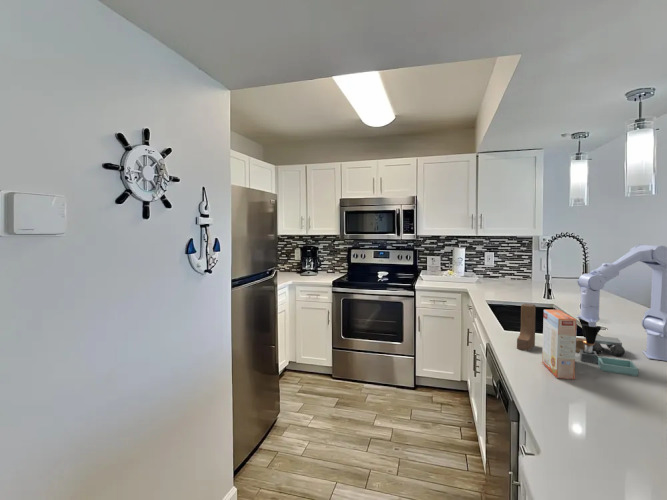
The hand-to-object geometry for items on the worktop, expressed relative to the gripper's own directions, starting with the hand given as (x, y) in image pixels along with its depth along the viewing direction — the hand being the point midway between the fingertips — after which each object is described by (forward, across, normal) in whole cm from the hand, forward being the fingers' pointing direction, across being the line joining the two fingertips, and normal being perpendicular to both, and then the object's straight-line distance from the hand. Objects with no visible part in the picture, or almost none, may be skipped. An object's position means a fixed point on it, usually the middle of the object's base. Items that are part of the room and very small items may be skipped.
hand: (588, 340), depth 133 cm
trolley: (+8, -14, +7) cm, 17 cm away
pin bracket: (+8, 0, 0) cm, 8 cm away
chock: (+8, -10, -1) cm, 12 cm away
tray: (+8, +6, +8) cm, 12 cm away
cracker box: (+8, +16, -11) cm, 21 cm away
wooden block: (+8, -6, -21) cm, 23 cm away
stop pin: (+8, 0, 0) cm, 8 cm away
